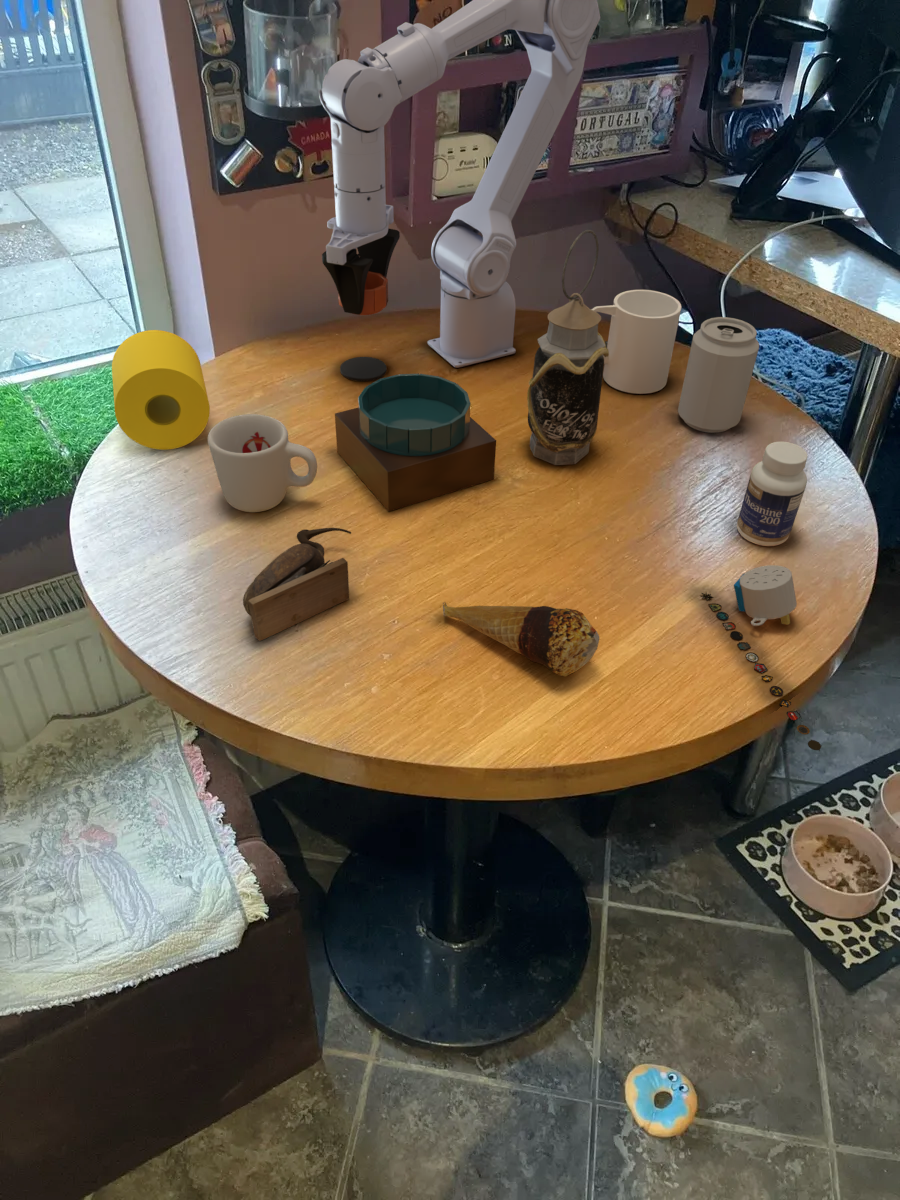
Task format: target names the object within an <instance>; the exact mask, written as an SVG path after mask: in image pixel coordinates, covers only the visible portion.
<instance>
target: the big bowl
mask: <svg viewBox="0 0 900 1200" xmlns="http://www.w3.org/2000/svg"><path fill="white" fill-rule="evenodd" d="M357 402H358V403H357V405H358V407H359V424H360V432H361V434H362V436H363V437H364V439H365V440H366V441H367V442H368V443H369V444H371V445H372V446H374V447H376V448H378V449H380V450H382V451H385V452H388V453H392V454H397V455H404V456H426V455H433V454H437V453H441V452H444V451H447V450H449V449H452V448H454V447H455V446H457V445H458V444H460V443H461V442H462V441H463V440H464V439H465V437H466V436H467V433H468V429H469V426H470V417H471V405H472V404H471V399H470V396H469V393H468V392H467V391H466V389H464V388H463V387H461V385H459V384H458V383H456V382H455V381H452V380H450V379H447V378H444V377H443V376H438V375H432V374H426V373H418V372H417V373H399V374H393V375H390V376H386V377H381V378H379V379H376V380H374V381H372V383H370V384H368V385H366V386H365V387H364V388H363V390H362V391H361V392H360V394H359V395H358V396H357ZM358 407H357V408H358Z"/></svg>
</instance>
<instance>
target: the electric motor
mask: <svg viewBox="0 0 900 1200" xmlns="http://www.w3.org/2000/svg"><path fill="white" fill-rule="evenodd" d="M792 572H793V571H791V569H789V568H788V567H786V566H783V565H775V564H774V565H773V564H768V565H762V566H761V565H760V566H758V567H754V568H752V569H750V570H748V571H746V572H745V573H743V574H741V576H740V577H739V579H737V580H736V581H735V583H734V584H733V588H734V594H735V599H736V603H737V608H738V612H743V613H744V612H745V613H746V615H747V616H748V617H750V618H752V620H751V621H750V625H752V627H760V626H762V625H764V624H765V622H766V621H767V620H775V619H780V624H781V625H787V626H788V625H790V624H791V618H790V614H791V613H792V612H793V611H794V610H795V609H796V607H797V605H798V603H797V596H796V590H795V586H794V579H793V573H792Z"/></svg>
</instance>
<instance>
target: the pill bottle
mask: <svg viewBox="0 0 900 1200" xmlns="http://www.w3.org/2000/svg"><path fill="white" fill-rule="evenodd" d="M807 460H808V452H807V451H806V450H805V449H804V448H803V447H802V446H800V445H798V444H796V443H792V442H788V441H774V442H771V443H769V444H767V445H766V446H765V449H764V452H763V455H762V460H761V461H760V460H759V462H757V463H756V464H755V465H754V466H753V468H752V469H751V472H750V474H749V479H748V482H747V486H746V489H745V494H744V497H743V500H742V504H741V507H740V510H739V513H738V517H737V521H736V529H737V531H738V533H739V534H740V536H741V537H742V538H744V539H745V540H747V541H748V542H749V543H753V544H755V545H759V546H761V547H762V546H763V547H774V546H779V545H782V544H783V543H786V541H787V540H788V539H789V537H790V535H791V532H792V529H793V526H794V524H795V521H796V517H797V515H798V513H799V508H800V506H801V503H802V500H803V497H804V494H805V491H806V489H807V483H808V476H807V474H806V471H804V469H805V468H806V463H807Z"/></svg>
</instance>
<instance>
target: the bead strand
mask: <svg viewBox="0 0 900 1200" xmlns="http://www.w3.org/2000/svg"><path fill="white" fill-rule="evenodd" d="M701 594H702V595H701ZM701 594H700V595H699V597H702V600H706V601H707V602H708V601H712V599H714V596H712V594H711V593H710V594H707V591H706V592H705V593H703V592H701ZM708 607H709V608H710V609H711V611H712V612H716V614H715V616H716V618H717V619H718V620H720V621H727V620H728V619H729V616H730V615H729V614H727V612H724V611H720V610H721V609H722V605H721V604H719V603H715V602H714V603H713V602H712V603H708ZM722 625H723V628H725V630H726V631H729V630H733V631H731V632H730V634H729V636H730V637H731V639H733V640H736V641H739V642H738V643H737V644H736V646H737V648H738V649H739V650H743V651H747V650H749V649H751V648H752V647H751V644H749V643H748V642H747V641H746V642H745V641H740V640H742V639H743V638H744V635H743V634H742V632H740V631H737V630H735V629H736V627H737V626H736V624H735V622H731V621H728V622H722ZM745 658H746V660H747V661H749V662H751V663H754V667H753V670H754V671H756V672H758V673H760V674H764V673H765V672H767V671H768V670H769V669H768V667H766V665H765V664H764V663H757V662H758V661H759V660H760V659H759V658H760V657H759V655H758V654H756V653H754V652H747V653H746V654H745ZM773 679H774V677H773V676H771V675H767V674H764V675H761V680H762V681H764V682H765V683H767V682H769V683H770V682H771V681H773ZM769 692H770V693H771V694H772V695H773V696H776V697H781V696H783V694H784V690H783V688H782V687H780V686H777V685H771V686H770V688H769ZM779 706H780V707H781V706H782V707H785V708H789V707H790V706H792V701H789V700H786V699H782V700H781V701H780V703H779ZM785 713H786V716H787V717H788V719H789V720H790V721H793V722H796V721H798V720H802V719H803V717H802V716H801V714H800V713H799V712H798V711H797V710H794V711H792V710H791V711H786V712H785ZM796 730H797V732H798V733H799V734H801V735H809V734H810V733H811V732H810V731H811V730H810V728H809V727H808V726H807V725H804V724H798V725H797V726H796ZM807 746H808V748H809V749H811V750H812V751H818V752H820V751H821V749H822V746H823V745H822V744H821V743H820V741H817V740H815V739H810V740H808V741H807Z"/></svg>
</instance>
